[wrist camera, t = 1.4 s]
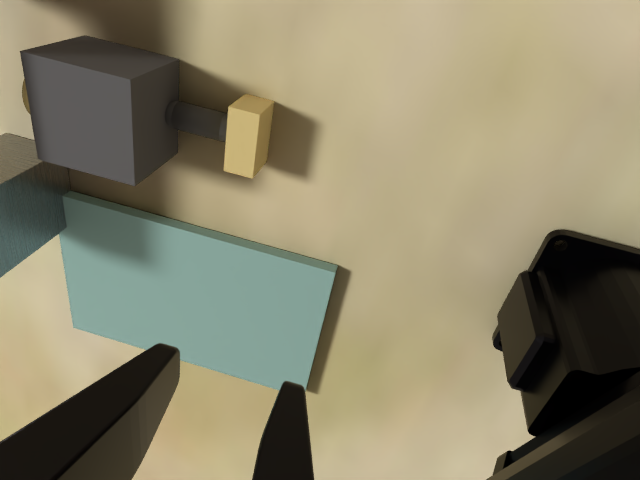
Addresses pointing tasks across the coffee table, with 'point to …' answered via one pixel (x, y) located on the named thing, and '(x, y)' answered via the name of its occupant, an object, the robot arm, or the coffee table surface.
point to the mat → (193, 291)
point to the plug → (128, 111)
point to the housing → (28, 200)
